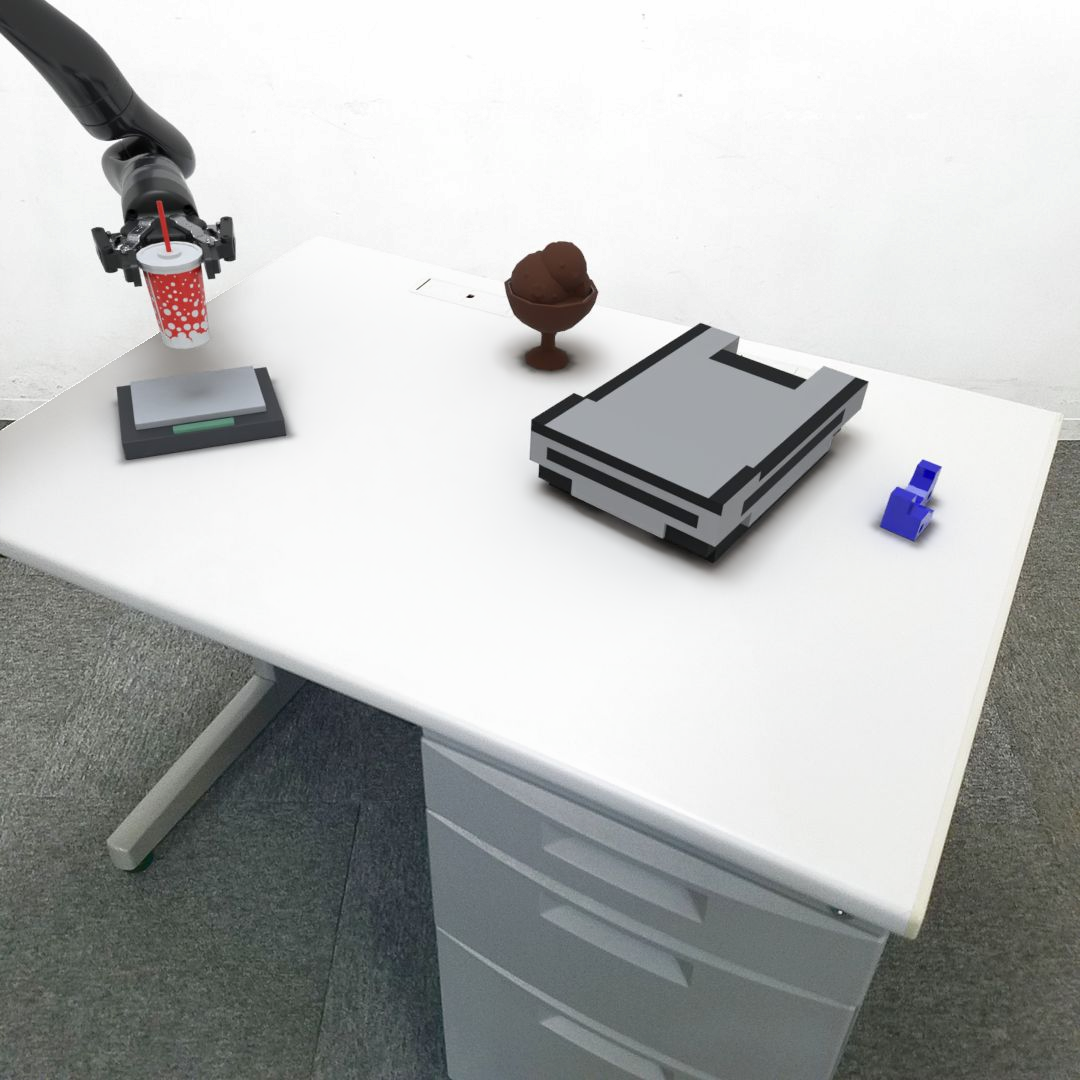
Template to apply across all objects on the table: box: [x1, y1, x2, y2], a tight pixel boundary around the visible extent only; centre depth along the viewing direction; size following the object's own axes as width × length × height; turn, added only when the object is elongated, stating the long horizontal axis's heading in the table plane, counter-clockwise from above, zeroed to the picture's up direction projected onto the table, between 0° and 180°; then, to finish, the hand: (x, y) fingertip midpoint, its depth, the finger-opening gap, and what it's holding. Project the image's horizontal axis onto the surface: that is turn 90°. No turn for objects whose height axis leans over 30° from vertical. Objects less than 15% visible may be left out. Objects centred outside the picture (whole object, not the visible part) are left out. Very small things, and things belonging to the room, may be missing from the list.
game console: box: [529, 322, 870, 564], centre depth 99 cm, size 21×32×8 cm, turn 142°
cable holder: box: [879, 458, 943, 542], centre depth 94 cm, size 8×4×4 cm, turn 141°
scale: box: [116, 365, 287, 460], centre depth 103 cm, size 16×12×3 cm
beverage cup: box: [136, 201, 211, 350], centre depth 94 cm, size 6×6×14 cm
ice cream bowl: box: [503, 240, 599, 372], centre depth 113 cm, size 11×11×15 cm
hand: (174, 273), depth 91 cm, fingers closed on beverage cup, 6 cm apart
